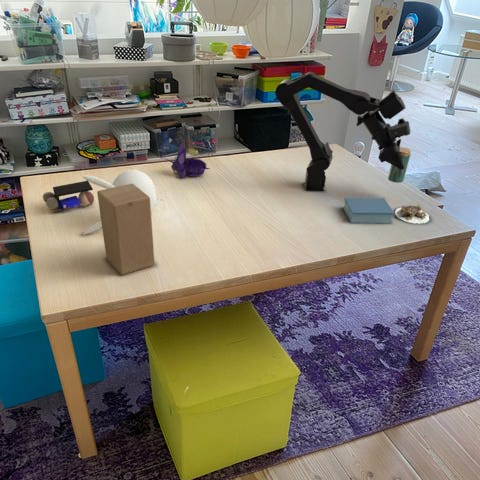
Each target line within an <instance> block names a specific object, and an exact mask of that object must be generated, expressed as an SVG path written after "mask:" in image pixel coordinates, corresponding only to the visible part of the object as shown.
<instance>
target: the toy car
mask: <svg viewBox="0 0 480 480" xmlns="http://www.w3.org/2000/svg"><path fill="white" fill-rule="evenodd" d="M93 190H94V189H93V187H92V184H91V182H89V181H87V180H84V181H79V182H73V183H72V182H71V183H67V184H63V185H56V186H53V187H52V191H53V192H51V191H46V192H44V193H43V195H42V199H43V202H45V205H46V207H47V208H48V209H50V210H55V211H54V213H61V212H63V211H64V210H66V209H70V208H75V207H77V206H84V207H90V206H92V205H93V204H94V202H95V196H94V194H93V193H92V192H91V191H93ZM74 194H78V196H77V195H74ZM69 195H71V196H69ZM64 196H68V197H65V198H60V197H64ZM57 209H58V210H57Z"/></svg>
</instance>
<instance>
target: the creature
mask: <svg viewBox="0 0 480 480" xmlns="http://www.w3.org/2000/svg"><path fill="white" fill-rule="evenodd" d="M173 155H174V158H175V159H174V160H170V159H167V158H165V157H164V158H163V159H164V160H166V161H167V162H170V163H172V164H171V166H170V167H171V170H172V171H173V172H174V173H175V172H176V173H180V174H178V178H181V179H184V178H186V175H187V176H188V177H192V178H193V177H200V176H202V175H204V174H205V171H206V170H210V169H211V168H209V167H208V165H207V164H208V163H206V162H205V160H202V159H201V158H196V157H192V156H191V157H187V147H186V146H185V139H183V140H182V141H181V144H180V146H179V149H178V151H177V154H173Z"/></svg>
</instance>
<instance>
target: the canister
mask: <svg viewBox="0 0 480 480" xmlns="http://www.w3.org/2000/svg"><path fill="white" fill-rule="evenodd" d="M398 148H399V147H398ZM411 151H412V150H411V149H410V148H408V147H403V146H400V151H399V156H400V159H401V161H402V163H403V166H404V169H402V170H401V169H399V168H397V167H395V166H394V165H392V164H390V168H389V171H388V175H387V180H388V181H389V182H392V183H396V184H401V183H403V182H404V181H405V178H406V174H407V169H408V166H409V162H410V158H411V155H412V154H411Z"/></svg>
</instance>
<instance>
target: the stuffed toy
mask: <svg viewBox="0 0 480 480" xmlns="http://www.w3.org/2000/svg"><path fill="white" fill-rule="evenodd" d="M81 177H82V178H83V179H85V181H88V182H89V183H90V184H93V185H96V186H98V187H101V188H104V189H109V188H114V187H118V186H123V185H128V184H134V185H135V186H136V187H138V188H139V189H140V190H141V191H143V192H144V193H145V194H146V195H148V196H149V197H150V205H151V217H152V215H153V214H154V212H155V210H156V206H157V201H163V197H160V198H157V197H158V194H157V190H156V187H155V184H154V182H153V180H152V179H151V177H149V176H148V175H147V173H145V172H143V171H142V170H138V169H127V170H124V171H123V172H121V173H119V174H118V175H117V176H116V178H114V180H113V181H112V183H110V182H108V181H106V180H104V179H102V178H100V177H98V176H94V175H86V174H85V175H81ZM100 229H102V223H101V219H100V220H99V221H98V222H95V223H94V224H92V225H91V226H90V227H88V228H87V229H86V230H85V231H84V233H82V236H84V235H90V234H93V233H94V232H97V231H98V230H100Z"/></svg>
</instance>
